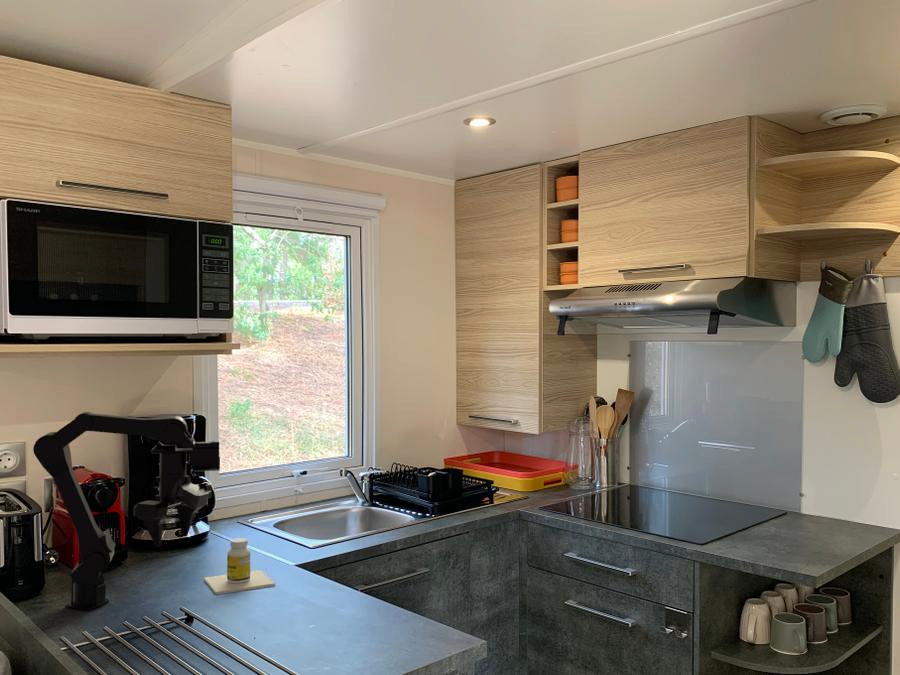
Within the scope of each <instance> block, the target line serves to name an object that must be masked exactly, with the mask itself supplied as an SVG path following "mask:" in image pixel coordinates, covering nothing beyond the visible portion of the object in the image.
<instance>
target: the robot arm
mask: <svg viewBox="0 0 900 675" xmlns="http://www.w3.org/2000/svg"><path fill="white" fill-rule="evenodd" d="M85 432H96V433H106V434H107V433H109V434H118V435H130V436H139V437H141V436H142V437H146V438H149V439H152V440H154V441H158V442H157V443H156V445H155V446H154V447H152V449H151V450H150V453H151V454H159V476H156V477H155V479H154V480H155V481H154V483H159V488H158V492H159V493H158V494H156V495H154V500H150V499H149V500H144V501H141V502H137V503H136V504H135V505H134V506H133V516H134V517H137V519H138V520H141V521H142V523H143V525H144V527H145V528H146V530H147V531H148V534H149V535H150V537H151V540H152V542H153V543H154V544H153V545H155V547H161V546H162V538H163V526H164V525H163V524H164V522H165V521H166V520H167V519H168V518H169V516H168V515H167V513H168V511H169V509H171V508H174V507H175V508H176V511H177V515H178V521H179V526H180V532H181V535H182V536H183V537H188V536H189V532H190V530H191V527H192V523H193V520H194V518H195V515H196V514H197V512H198V511H199V510H201V508H203V507H204V506H206V504H207V503H208V502H209V499H210V498H212V496H213V495H212V484H211V483H209V482H207V481H205V482H202V483H201V484H198V483H197V484H194V483H192V477H191V475H187V456H188V455H187V453H188V454H189V459H188V460H189V464H188V465H189V466H188V467H189V468H192V469H194V472H216V471H217V472H218V471H219V472H220V470H221V468H220V467H221V453H220V441H219V440H212V441H196V440H195V439H194V437H193V436H192V435H191V434H190V432H189V431H188V424H187V422H186V420H185V419H184V418H182V416H179V415H167V416H166V415H165V416H155V417H149V418H148V417H147V418H146V417H145V418H144V417H137V416H136V417H134V416H122V415H113V414H104V413H102V414H101V413H92V412H90V411H84V412H82V413H81V412H80V413H79V414H78V415H76V417H75V418H74V419H73V420H71V421H70V422H68V423H67V424H66V425H64V426H63V427H61V428H60V429H59V430H57V431H52V432H47V433H45V435H42V436H41V437H39V438H37V440H36V441H35V443H34V444H33V450H32V451H33V454H34V456H35V457H36V459H37V461H38V462H39V463H40V464H41V466H42V468H44V470H45V472H47V473H48V474H49V475H50V476H51V477H52V480H53V482H54V484H55V486H56V488H57V490H58V494H59V496H60V498H61V499H62V503H63V505H64V507H65V509H66V512H67V513H68V516H69V519H70V521H71V524H72V526H73V527H74V530H75V532H76V535H77V541H78V551H79V556H80V560H79V561H78V562H76V565H75V566H74V567H73V569H72V571H71V573H70V578H71V579H70V581H71V586H70V587H71V590H70V594H71V595H70V602H68V603H65V605H64V606H65V608H69V609H75V610H80V611H81V610H82V611H90V610H94V609H95V608H98V607H100V606H103V605H105V604H107V603H109V602H110V599H109V598H106V586H107V585H106V584H107V583H105V578H106V576H105V575H103V574H102V572H103V571H105V570H106V569H107V568H108V567H109V565H110V563H112V562H111V561H112V559H113V557H114V556H115V547H116V543H115V541H114V540H113V539H112V536H111V532H110V529H109V528H108V529H106V530H104V531H102V530H101V528H100V527H99V526H98V525H97V522H96V521H95V518H94V515H93V512H92V510H91V509H90V506H89V504H88V502H87V500H86V498H85V495H84V493H83V491H82V488H81V485H80V483H79V481H78V479H77V476H76V474H75V472H74V470H73V461H72V452H71V448H70V443H72V442H73V441H75V440H76V439H77V438H79V437H81V436H82V435H83V434H84V433H85ZM163 443H165V444H163ZM177 445H178V446H180V448H178V447H177Z"/></svg>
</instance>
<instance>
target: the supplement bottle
mask: <svg viewBox="0 0 900 675" xmlns="http://www.w3.org/2000/svg"><path fill="white" fill-rule="evenodd" d="M226 557H227V561H226V564H227V566H226V572H227V573H226V575H227V581H228V582H230V583H244V582H247V581H249V580H250V571H251V549H250V548H249V547H248V539H247V538H244V537H236V538H232V539H230V548H229V549H228V551H227V556H226Z"/></svg>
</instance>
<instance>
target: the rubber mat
mask: <svg viewBox="0 0 900 675" xmlns="http://www.w3.org/2000/svg"><path fill="white" fill-rule="evenodd" d="M203 581H204V582H205V583H206V584H207V586H208V587H209V588H210V590H211V591H212V592H213V593H214V595H222V594H229V593H236V592H243V591H244V592H245V591H251V590H257V589H261V588H268V587H275V586H276V583H275V581H273V579H272V578H270V576H268V575H267V574H266V573H265V572H264V571H262V569H258V570H257V569H256V570H250V580H249V581H247V582H244V583H230V582H228V581H227V574H221V575H214V576H208V577H207V576H206V577H203Z"/></svg>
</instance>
